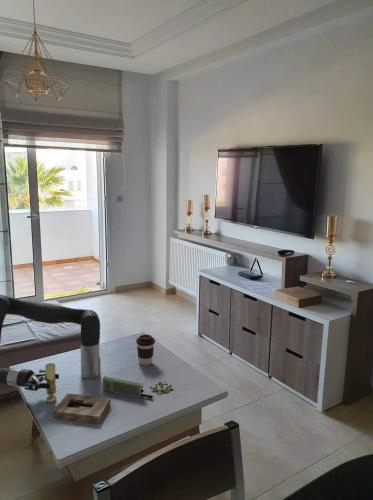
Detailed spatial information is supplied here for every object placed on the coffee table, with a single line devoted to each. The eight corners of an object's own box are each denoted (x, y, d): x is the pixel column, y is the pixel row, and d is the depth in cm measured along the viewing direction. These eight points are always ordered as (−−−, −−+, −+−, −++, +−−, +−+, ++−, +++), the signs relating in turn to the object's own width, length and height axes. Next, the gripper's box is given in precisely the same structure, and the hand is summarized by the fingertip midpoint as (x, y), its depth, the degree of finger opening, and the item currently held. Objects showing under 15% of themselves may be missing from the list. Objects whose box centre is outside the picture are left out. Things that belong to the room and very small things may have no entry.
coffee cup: (144, 356, 225) (144, 331, 222) (158, 362, 220) (158, 336, 217) (132, 363, 217) (132, 337, 215) (146, 368, 212) (146, 342, 209)
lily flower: (144, 387, 195) (144, 378, 194) (165, 380, 201) (165, 372, 201) (157, 398, 185) (157, 389, 184) (179, 391, 192) (179, 382, 191)
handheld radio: (105, 387, 193) (154, 397, 185) (102, 391, 190) (151, 401, 182) (105, 375, 191) (154, 384, 184) (101, 378, 188) (151, 388, 181)
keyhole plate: (53, 418, 167) (52, 411, 166) (67, 399, 181) (67, 393, 180) (99, 423, 164) (99, 416, 164) (110, 404, 178) (110, 398, 177)
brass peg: (56, 397, 183) (55, 362, 180) (56, 402, 179) (55, 366, 176) (45, 398, 181) (44, 363, 178) (46, 403, 177) (45, 368, 174)
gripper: (10, 377, 172) (46, 381, 170) (28, 362, 186) (61, 366, 184) (11, 393, 174) (46, 397, 172) (28, 377, 188) (61, 381, 186)
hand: (54, 381), depth 178 cm, fingers open, 8 cm apart
